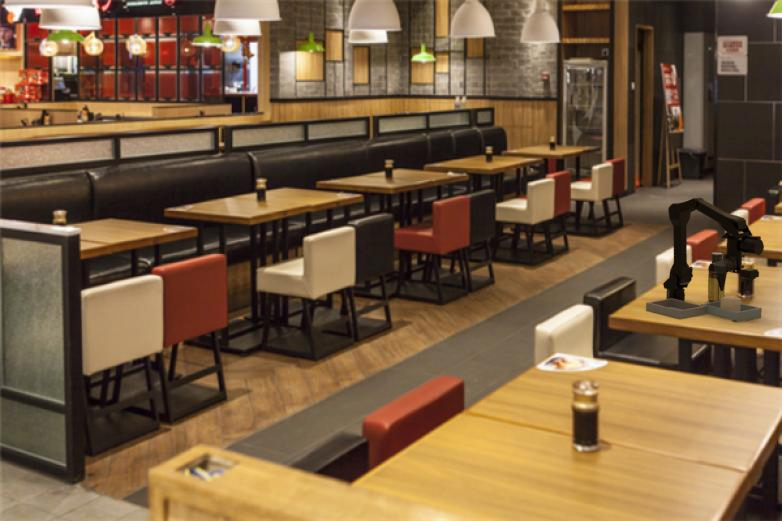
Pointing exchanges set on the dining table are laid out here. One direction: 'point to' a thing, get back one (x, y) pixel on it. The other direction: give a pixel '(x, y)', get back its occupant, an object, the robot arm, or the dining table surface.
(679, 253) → the robot arm
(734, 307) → the stone block
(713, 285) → the sauce bottle
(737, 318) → the bin
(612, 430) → the dining table surface
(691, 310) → the bin
